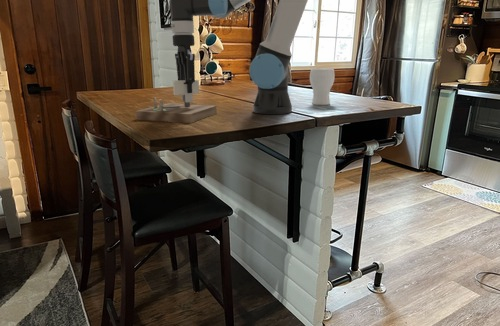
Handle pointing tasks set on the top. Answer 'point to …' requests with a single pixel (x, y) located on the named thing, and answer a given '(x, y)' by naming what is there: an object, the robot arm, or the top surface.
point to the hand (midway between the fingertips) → (187, 101)
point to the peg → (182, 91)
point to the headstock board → (176, 112)
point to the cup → (321, 84)
